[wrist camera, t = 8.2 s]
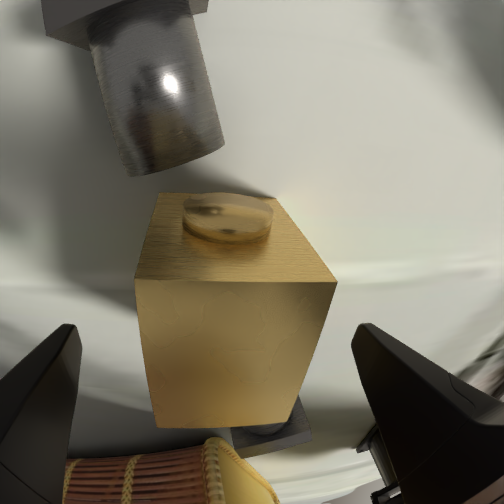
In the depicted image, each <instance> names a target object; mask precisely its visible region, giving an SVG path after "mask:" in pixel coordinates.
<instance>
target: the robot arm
mask: <svg viewBox="0 0 504 504" xmlns="http://www.w3.org/2000/svg"><path fill="white" fill-rule="evenodd" d="M351 348H352V352H353V355H354V359H355V362H356V366H357V369H358V373H359V377H360V380H361V383H362V386H363V389H364V392H365V394H366V397H367V399H368V402H369V404H370V407H371V409H372V412H373V415H374V417H375V420H376V423H377V424H376V426H375V427H374V428H373V429H372V431H371V432H370V433H369V434H368V436H367V437H366V438H365V439H364V440H363V442H362V443H361V444H360V445H359V446H358V447H357V449H356V451H357V453H361V452H364V451H368V450H370V453H371V455H372V457H373V459H374V461H375V464H376V466H377V468H378V470H379V472H380V475H381V477H382V479H383V481H384V483H385V486H386V487H385V488H383V489H381V490H379V491H375V492H373V493H372V494H371V495H372V496H370V497H371V500H372V503H373V504H504V402H501V401H499V400H497V399H495V398H493V397H492V396H490V395H488V394H486V393H484V392H482V391H480V390H478V389H476V388H475V387H473V386H471V385H469V384H467V383H466V382H464V381H462V380H461V379H459V378H457V377H456V376H454V375H453V374H451V373H448V371H446V370H445V369H443V368H441V367H440V366H438V365H437V364H435V363H434V362H432V361H430V360H429V359H427V358H426V357H424V356H422V355H421V354H419V353H418V352H416V351H415V350H413V349H411V348H410V347H408V346H407V345H405V344H403V343H402V342H400V341H399V340H397V339H395V338H394V337H392V336H391V335H389V334H388V333H386V332H384V331H383V330H381V329H380V328H378V327H376V326H375V325H373V324H371V323H362V324H360V325H359V326H358V327H357V330H356V332H355V334H354V337H353V339H352V342H351ZM81 356H82V344H81V340H80V337H79V333H78V330H77V327H76V325H74V324H62V325H61V326H60V327H58V328H57V329H56V330H55V331H54V332H53V333H52V334H50V335H49V336H48V337H47V338H46V339H45V340H44V341H42V342H41V343H40V344H39V345H38V346H37V347H36V348H34V349H33V350H32V351H31V352H30V353H29V354H28V355H27V356H26V357H24V358H23V359H22V360H21V361H20V362H19V363H18V364H17V365H16V366H15V367H14V368H13V369H11V370H10V371H9V372H8V373H7V374H6V375H5V376H4V377H3V378H2V379H1V380H0V504H62V501H63V487H64V476H65V467H66V459H67V451H68V444H69V437H70V431H71V425H72V419H73V414H74V409H75V403H76V398H77V392H78V382H79V373H80V364H81ZM399 491H401V493H400V494H398V495H396V496H394V497H393V498H390V496H391V495H393V494H395V493H397V492H399Z"/></svg>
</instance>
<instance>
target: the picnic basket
mask: <svg viewBox="0 0 504 504" xmlns="http://www.w3.org/2000/svg"><path fill="white" fill-rule="evenodd" d="M62 504H280V502H279V500H278V498H277V496H276V494H275V492H274V490H273V488H272V487H271V485H270V484H269V483H268V482H267V481H266V480H265V479H264V478H263V477H262V476H261V475H260V474H259V473H258V472H257V471H256V470H255V469H254V468H253V467H252V466H251V465H250V464H249V463H248V462H246V461H245V460H244V459H241V458H240V457H239V456H238V454H237V453H236V452H235V450H234V448H233V447H232V446H231V445H230V444H229V443H228V442H227V441H225V440H224V439H223V438H220V437H211V438H209V439H207V440H206V442H205V443H204V445H199V446H194V447H189V448H183V449H177V450H171V451H165V452H158V453H150V454H142V455H133V456H122V457H109V458H91V459H66V467H65V476H64V487H63V501H62Z"/></svg>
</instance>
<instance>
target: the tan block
mask: <svg viewBox="0 0 504 504" xmlns="http://www.w3.org/2000/svg"><path fill="white" fill-rule="evenodd" d="M134 284H135V295H136V304H137V313H138V322H139V330H140V337H141V344H142V351H143V358H144V364H145V370H146V376H147V381H148V387H149V392H150V397H151V402H152V407H153V412H154V417H155V421H156V426H157V428H218V427H237V426H250V425H262V424H271V423H280V422H287V420H288V418H289V415H290V413H291V411H292V408H293V406H294V403H295V401H296V398H297V396H298V393H299V391H300V388H301V386H302V383H303V381H304V378H305V375H306V373H307V370H308V367H309V365H310V362H311V359H312V357H313V354H314V351H315V348H316V346H317V343H318V340H319V337H320V334H321V331H322V328H323V326H324V323H325V320H326V317H327V314H328V311H329V308H330V304H331V301H332V298H333V295H334V292H335V289H336V285H337V280H336V279H335V277H334V276H333V275H332V273H331V272H330V270H329V269H328V268H327V266H326V265H325V263H324V262H323V261H322V259H321V258H320V257H319V255H318V254H317V252H316V251H315V250H314V248H313V247H312V246H311V244H310V243H309V242H308V240H307V239H306V238H305V236H304V235H303V234H302V232H301V231H300V230H299V228H298V227H297V226H296V224H295V223H294V222H293V220H292V219H291V218H290V216H289V215H288V214H287V212H286V211H285V210H284V208H283V207H282V206H281V205H280V203H279V202H278V201H277V199H276V198H263V197H250V196H246V195H241V194H235V193H224V192H211V193H202V194H193V193H164V192H160V193H159V196H158V199H157V202H156V205H155V208H154V212H153V215H152V218H151V221H150V224H149V228H148V231H147V234H146V238H145V241H144V245H143V248H142V252H141V255H140V259H139V263H138V266H137V270H136V274H135V278H134Z"/></svg>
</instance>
